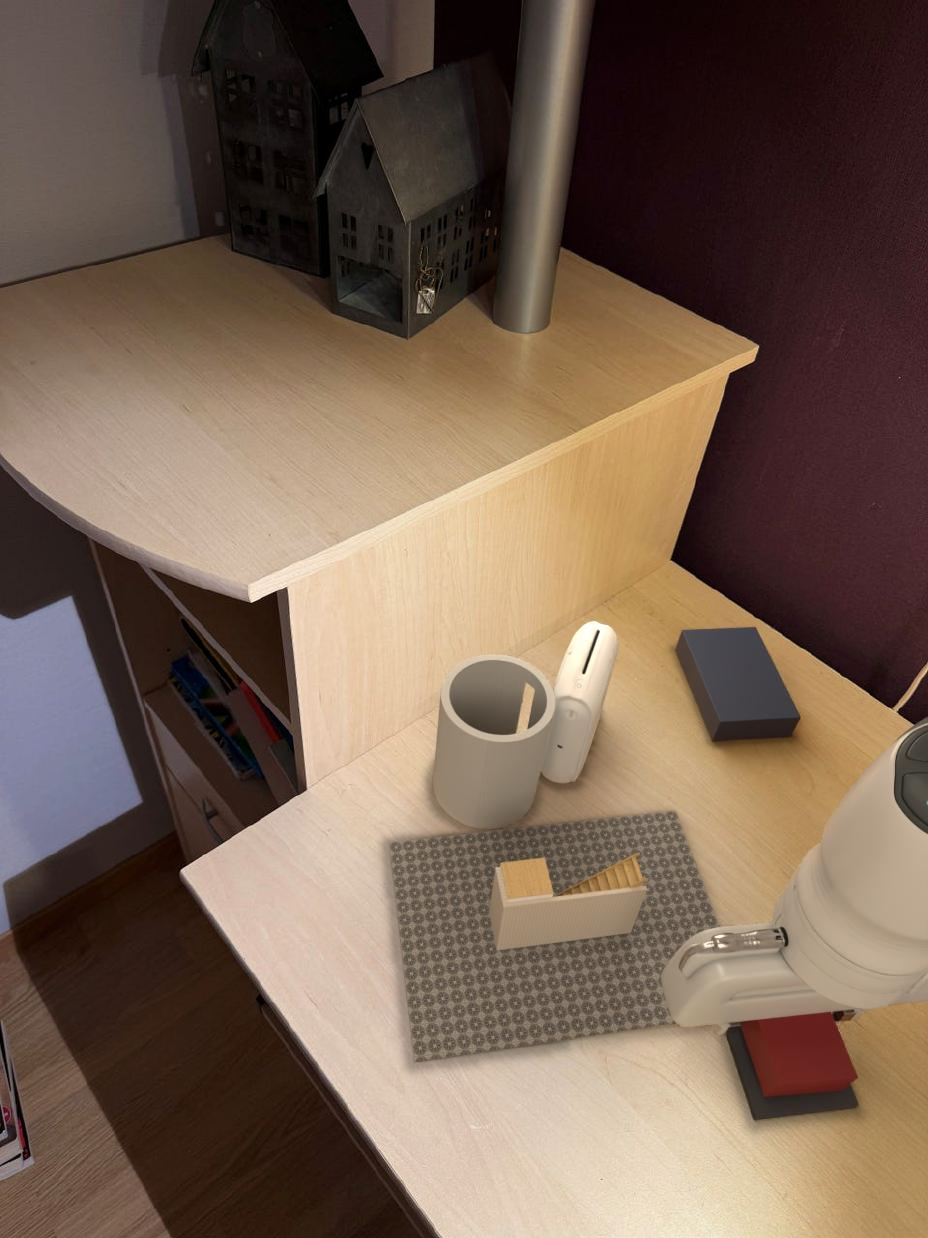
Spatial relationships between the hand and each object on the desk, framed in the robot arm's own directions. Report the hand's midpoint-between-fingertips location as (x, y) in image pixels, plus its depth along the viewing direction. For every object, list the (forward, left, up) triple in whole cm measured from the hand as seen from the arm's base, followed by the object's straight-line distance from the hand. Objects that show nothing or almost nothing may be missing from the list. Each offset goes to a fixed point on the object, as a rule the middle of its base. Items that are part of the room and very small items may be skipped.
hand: (780, 1017), depth 66 cm
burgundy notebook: (0, 0, -1) cm, 1 cm away
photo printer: (+10, -27, -2) cm, 29 cm away
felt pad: (0, 0, -2) cm, 2 cm away
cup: (+18, -23, -2) cm, 29 cm away
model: (+14, -9, -2) cm, 17 cm away
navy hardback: (-8, -32, -2) cm, 33 cm away
